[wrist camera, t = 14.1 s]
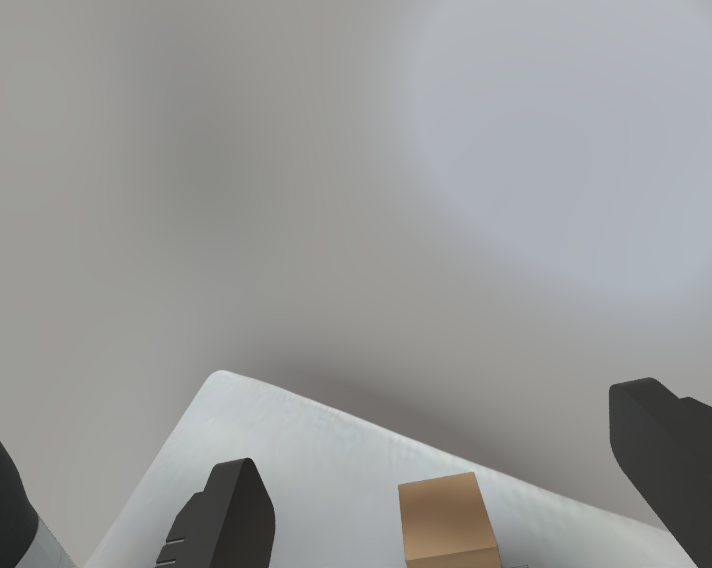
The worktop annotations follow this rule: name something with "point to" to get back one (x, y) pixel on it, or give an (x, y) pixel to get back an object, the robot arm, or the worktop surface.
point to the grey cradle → (522, 566)
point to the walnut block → (447, 524)
